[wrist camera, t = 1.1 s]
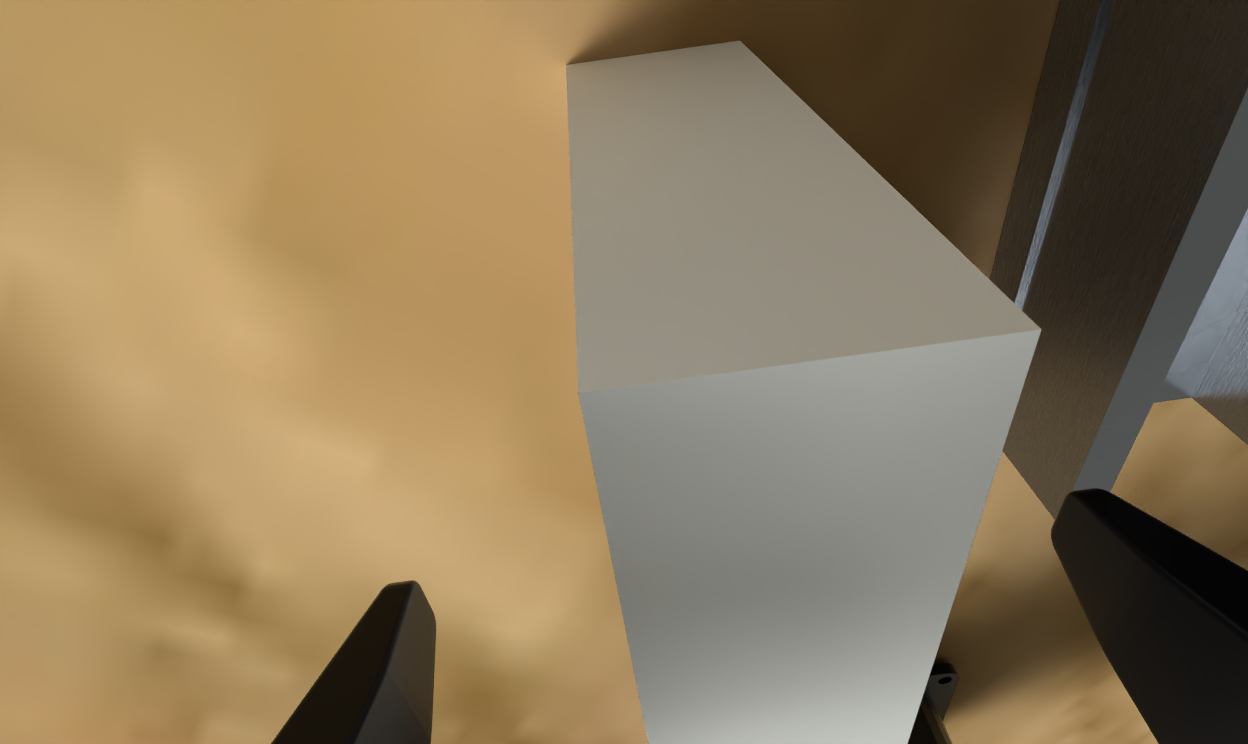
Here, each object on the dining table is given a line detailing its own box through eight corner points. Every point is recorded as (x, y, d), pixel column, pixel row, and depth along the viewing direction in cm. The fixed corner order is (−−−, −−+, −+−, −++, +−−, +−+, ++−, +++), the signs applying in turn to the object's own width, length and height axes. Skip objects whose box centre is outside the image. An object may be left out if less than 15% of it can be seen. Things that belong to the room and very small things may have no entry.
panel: (742, 455, 18) (869, 862, 10) (628, 470, 18) (676, 887, 10) (739, 40, 11) (1041, 329, 4) (566, 64, 11) (577, 393, 4)
